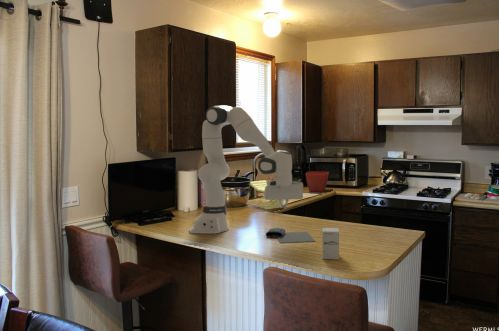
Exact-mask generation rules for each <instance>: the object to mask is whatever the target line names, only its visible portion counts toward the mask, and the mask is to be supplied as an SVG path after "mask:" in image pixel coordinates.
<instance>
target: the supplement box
mask: <svg viewBox="0 0 499 331" xmlns="http://www.w3.org/2000/svg"><path fill="white" fill-rule="evenodd" d="M321 229H322V231H321V241H322V242H321V244H322V245H321V249H322V250H321V256H322V260H340V229H339V227H337V228H335V227H322V228H321Z"/></svg>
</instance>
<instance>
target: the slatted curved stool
mask: <svg viewBox="0 0 499 331" xmlns="http://www.w3.org/2000/svg"><path fill="white" fill-rule="evenodd" d="M249 186H251V187H252V188H253V189H254V190H256V191H257V192H263V193H264V191H265V187H266V186H267V180H254V181H249ZM280 202H281V204H284V202H285V199H282V201H280ZM256 208H260V209H264V210H271V209H279V208H281V207H280V203H279V201H278V200H267V202H264V203H259V204H258V203H257V204H256Z"/></svg>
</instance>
